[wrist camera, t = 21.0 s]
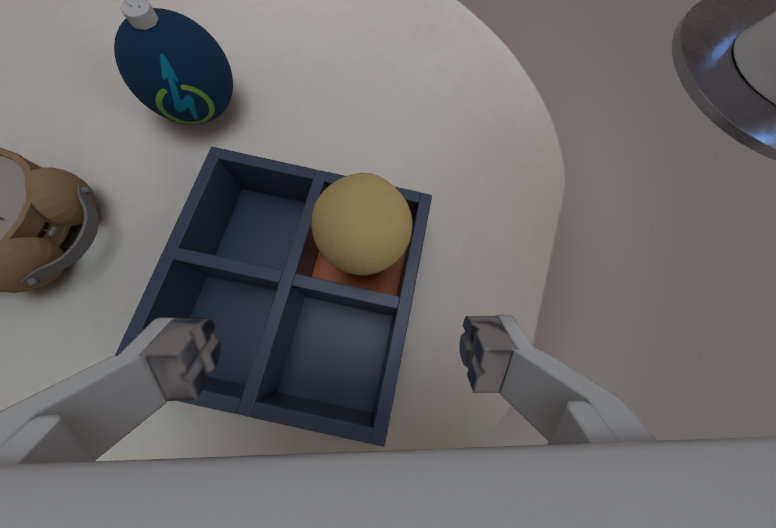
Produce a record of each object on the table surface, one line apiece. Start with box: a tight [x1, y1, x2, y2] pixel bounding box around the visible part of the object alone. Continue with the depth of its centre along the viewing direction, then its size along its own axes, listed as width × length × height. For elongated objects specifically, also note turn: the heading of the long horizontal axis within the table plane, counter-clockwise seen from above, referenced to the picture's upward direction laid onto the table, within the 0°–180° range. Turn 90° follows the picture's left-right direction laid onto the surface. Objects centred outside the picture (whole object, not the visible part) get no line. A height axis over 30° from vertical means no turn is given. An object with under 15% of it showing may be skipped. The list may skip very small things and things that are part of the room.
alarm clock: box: [0, 148, 99, 293], centre depth 24 cm, size 11×5×15 cm
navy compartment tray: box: [115, 147, 432, 447], centre depth 23 cm, size 18×18×5 cm
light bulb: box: [311, 173, 412, 276], centre depth 21 cm, size 6×6×10 cm
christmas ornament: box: [114, 0, 233, 124], centre depth 25 cm, size 8×8×10 cm
